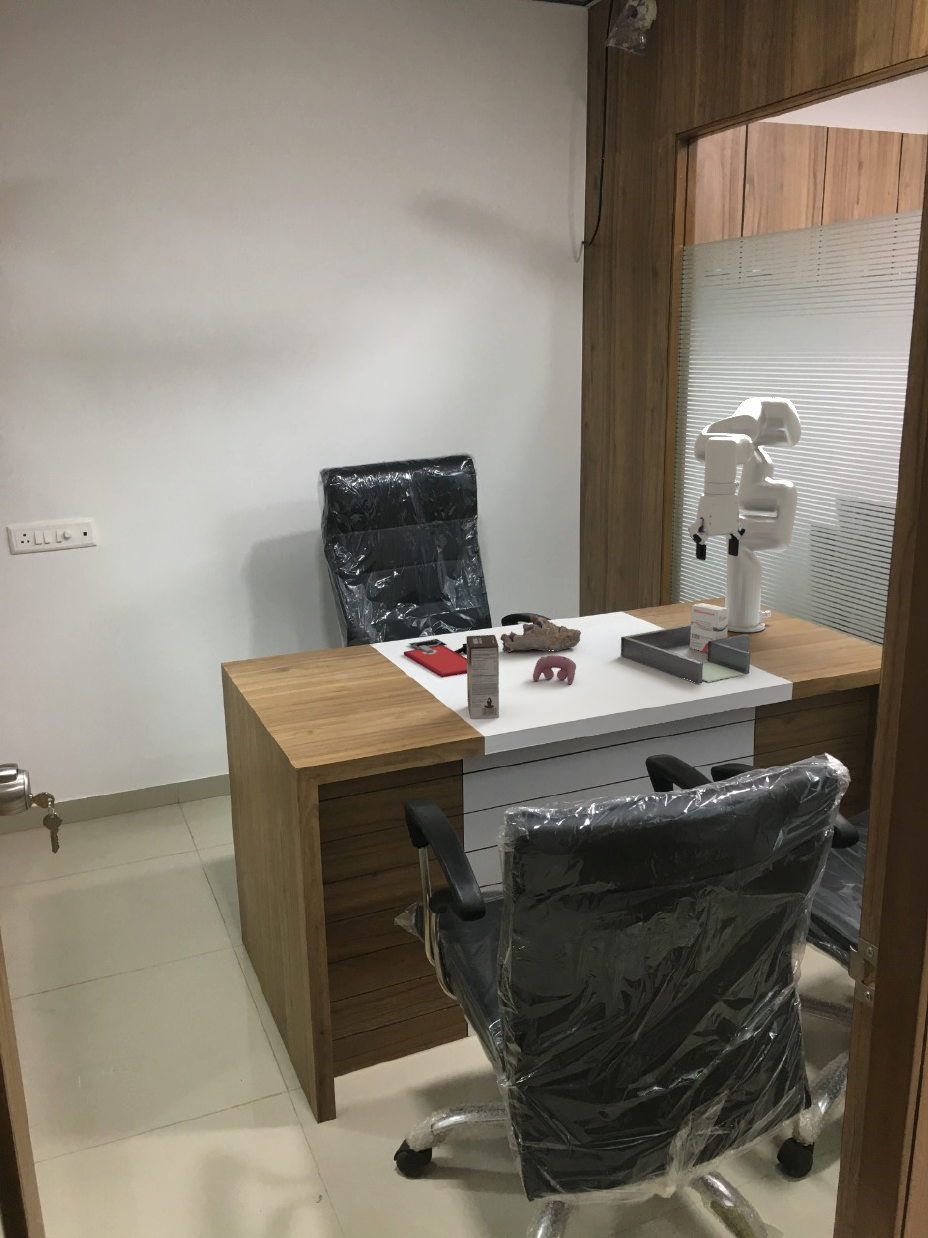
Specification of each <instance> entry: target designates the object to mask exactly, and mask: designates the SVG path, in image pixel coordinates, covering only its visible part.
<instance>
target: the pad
mask: <svg viewBox="0 0 928 1238" xmlns="http://www.w3.org/2000/svg"><path fill="white" fill-rule="evenodd" d="M743 674H744V673H742V672H739V671H736V670H733V669H730V668H727V667H725V666H722V665H719V664H716V663H713V662H705V663H703V673H702V680H704V681H703V682H705V681H707V682H710V683H713V682H712V681H714V682H716V681H715V680H719V681H721V680H720V679H723V680H726V679H725V678H728V679H731V678H736V677H740V676H743ZM707 682H706V683H707Z"/></svg>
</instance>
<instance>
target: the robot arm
mask: <svg viewBox="0 0 928 1238" xmlns="http://www.w3.org/2000/svg"><path fill="white" fill-rule="evenodd" d="M801 423H802V422H801V420H800V418H799V415H798V413H797V410H796V408H795V406H794V405H793V403H792V402H791V401H790V400H788V399H786V398H783V397H775V398H774V397H773V398H772V397H754V398H749V399H746V400H745V401H743V402H742V403H741V404H740V405H739V406H738V407H737V409H736V410H735V412H734V413H733V415H732V416H731V415H730V416H729V417H726V418H725V417H724V418H723V419H720V420H717V421H714V422H712V423H710V424H707V425H705V426H704V427H703V429H702V430H701V431H700V433H699V434H698V436H696V437H697V438H696V440H695V442H694V446H693V453H694V457H695V459H696V461H697V462H699V463H701V464H704V482H703V483H704V484H703V493H702V494H700V498H699V501H698V505H697V511H696V521H694V522H693V523H692V524H690V525H689V526H688V527H687V530H688V531H687V532H688V533H689V535H690V536H689V537H690V538H691V539H692V540H693V543H695V559H697V560H700V561H706V559H707V544H705V543H706V542H707V540H708V539H709V537H719V536H725V543H726V576H725V577H726V580H725V581H726V582H725V598H724V600H725V601H724V607H725V608H728V630H727V632H728V631H729V632H736V633H755V632H761V631H763V630H765V628H766V624H765V623H764V622H763V619H765V618H766V619H768V618H771V616H772V611H771V610H764V611H763V610H761V598H762V581H763V580H762V579H763V564H762V561H761V559H760V558H759V556H758V555H757V554H756V553H755V552H771V553H773V552H774V553H781V552H784V551H786V550H787V549H789V547H790V544H791V542H792V535H793V530H794V524H795V519H796V512H797V508H798V507H797V506H798V490H797V487H796V485H795V484H794V483H793V482H792V481H788V480H778V479H777V480H776V479H775V480H773V478H774V471H775V464H774V462H773V461H772V459H771V458H770V456H769V454H767V452H766V451H764V450H763V447H764V448H792V447H794V446H796V445H798V443H799V442H800V439H801V438H802V437H801V436H802V424H801ZM740 465H741V466H742V468H741V469H742V470H741V475H740V481H739V482H737V469H738V468H737V467H738V466H740ZM737 489H738V492H737ZM736 492H737V493H736ZM740 512H742V513H745V514H740Z"/></svg>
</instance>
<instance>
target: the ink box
mask: <svg viewBox="0 0 928 1238" xmlns="http://www.w3.org/2000/svg"><path fill="white" fill-rule="evenodd" d="M690 614H691V615H690V616H691V617H690V618H691V619H690V624H691V636H690V644H689V649H691V650H694V649H695V651H698V650H699V651H698V652H702V653H703V652H704V653H706V654H708V641H713V640H718V639H723V638H728V608H725V606H724V607H723V606H719V605H714V604H709V603H704V602H702V603H695V604H693V605H691V613H690Z"/></svg>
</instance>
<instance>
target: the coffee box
mask: <svg viewBox="0 0 928 1238" xmlns="http://www.w3.org/2000/svg"><path fill="white" fill-rule="evenodd" d="M466 644H467V655H466V658H467V673H466V681H467V682H466V685H467V686H466V688H467V689H466V690H467V693H466V694H467V708H468V713H469V717H470V719H471V720H475V719H476V720H477V719H481V720H482V719H496V718H497V719H498V718H500V711H499V710H500V708H499V707H500V699H499V698H500V690H499V689H500V687H499V684H500V681H499V680H500V678H499V675H500V674H499V673H500V672H499V671H500V668H499V667H500V666H499V663H500V661H499V660H500V657H499V655H500V653H499V650H500V649H499V647H500V646H499V643H498V640H497V636H496V635H495V634H485V635H484V634H482V635H480V634H479V635H467V636H466Z"/></svg>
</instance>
